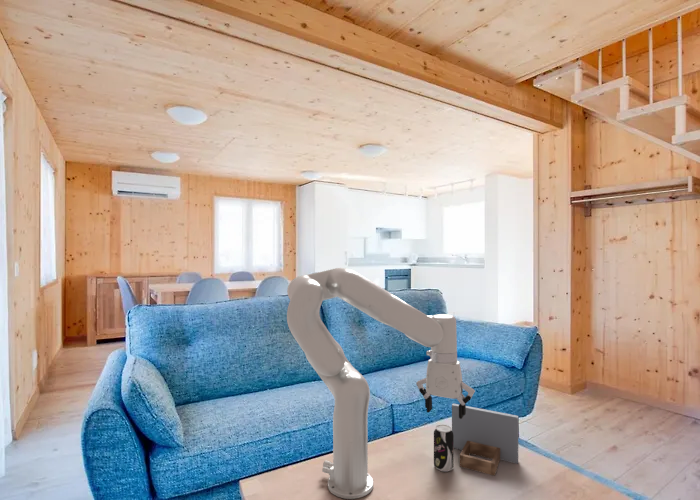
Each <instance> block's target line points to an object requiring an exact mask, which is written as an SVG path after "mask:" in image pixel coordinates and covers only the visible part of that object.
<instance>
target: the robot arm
mask: <svg viewBox="0 0 700 500" xmlns="http://www.w3.org/2000/svg"><path fill="white" fill-rule="evenodd" d="M286 290H287V296H288V299H289V303H288V306H287V312H286V321H287V326H288V329H289V331H290V334H291V336H292V337H293V339H295V341H296V342H297V344H298V346H299V348H300V349H301V350H302V351H303V353H304V354H305V357H306V360H307V361H308V363H309V364H310V365H311V368H313V370H314V371H315V372H316V374H317V375H318V376H319V378H320V379H321V380H322V382H323V383H324V385H325V386H326V387H327V389H328V390H329V391H330V393H331V394H332V396H333V398H334V406H333V407H334V408H333V414H332V415H333V416H332V441H333V442H332V448H333V449H332V450H333V451H332V454H333V455H332V458H333V459H332V462H331V461H329V460H326V459H325V460H324V461H323V464H322V469H321V471H322V473H325V474H328V475H329V477H328V479H327V489H328V491H329V492H330V493H331V494H332V495H334V496H335V497H338V498H341V499H347V500H354V499H360V498H363V497H365V496H367V495H368V494H370V493H371V491H372V490H373V489H374V480H373V477H372V476H371V475H370V473H368V471H369V469H368V468H369V467H368V463H369V462H368V454H369V453H368V448H369V447H368V445H369V444H368V443H369V442H368V440H369V439H368V438H369V437H368V434H369V433H368V414H369V413H368V412H369V404H370V398H371V396H370V395H371V390H370V385H369V383H368V380H367V379H366V377H364V375H362V373H360V372H359V370H358V369H356V368H355V367H354V366H353V365H352V363H351V362H350V360H348V358H347V357H346V355H345V353H344V349H343V348H342V345H340V343H339V342H337V341H336V339H335V338H334V337H333V335H332V334H331V332H330V331H329V330H328V328H327V326H326V325H325V323H324V322H323V321H322V318H321V315H320V309H321V306H322V304H323V301H326V300H330V299H333V298H339V299H341V300H342V301H344V302H346V303H347V304H349V305H350V306H352V307H354V308H356V309H357V310H359V311H361V312H363V313H364V314H366V315H367V316H368V317H371V318H372V319H373V320H376V321H378V322H380V323H381V324H384V325H386V326H389V327H391V328H392V329H395V330H397V331H399V332H400V333H403V334H404V335H405V336H406V337H407V338H408V339H410V340H412V341H414V342H416V343H418V344H420V345H422V346H424V347H426V348H430V350H426V352H425V353H426V356H429V357H430V359H428V362H427V367H426V376H425V378H422V379H419V380H418V381H416V383H415V385H416V386H417V389H418V392H419V393H420V394H421V395H422V396H423V399H424V406H425V409H426V413H430V412H432V410H433V396H435V397H439V398H440V397H441V398H447V399H452V400H457V401H458V402H459V418H460V419H462V417H463V416H464V415H465V414H466V406H467V403H468V402H469V401H471V399H472V398H473V395H474V394H475V392H476V390H475V389H474V388H472V387H471V386H470V385H468V384H467V383H465V382H463V375H462V370H461V369H462V368H461V363H460V361H459V360H458V348H457V347H458V344H457V343H458V340H457V337H458V336H457V334H458V333H457V320H456V319H457V318H456V317H455V316H454V315H452V314H445V313H439V314H434V315H427V314H426V313H424V312H422V311H421V310H419V309H417V308H415V306H414V307H413V306H412V305H410V304H408V303H407V302H405V301H404V300H402V299H400V298H399V297H398V296H397V295H394V294H392V293H391V292H389V291H388V290H386V289H385V288H383V287H381V286H380V285H378V284H376V283H375V282H373V281H372V280H371V279H369V278H367V277H366V276H364V275H362V274H360V273H359V272H357V271H355V270H353V269H352V268H351V269H350V268H345V267H336V268H332V269H331V268H330V269H328V270H324V271H318V272H314V273H308V274H303V275H299V276H297V277H295V278H294V279H292V280H291V281H290V283H289V284H288V286H287V289H286ZM424 384H425V387H424ZM464 391H465V392H467V395H466V396H465V395H464V394H463V392H464Z"/></svg>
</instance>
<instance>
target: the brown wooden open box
mask: <svg viewBox="0 0 700 500" xmlns="http://www.w3.org/2000/svg"><path fill="white" fill-rule="evenodd" d="M472 455H473V456H472ZM475 456H476V457H475ZM481 457H482V458H481ZM484 458H486V459H484ZM488 459H489V460H488ZM490 459H491V460H490ZM500 461H501V460H500V448H497V447H493V446H489V445H484V444H480V443H476V442H471V441H467V442H466V444H465V446H464V448H463V450H461V452H460V454H459V467H460V468H464V469H468V470H471V471H476V472H478V473H482V474H486V475H489V476H492V477H493V476H494V477H495V476H496V473H497V471H498V469H499V468H498V467H499V464H500Z"/></svg>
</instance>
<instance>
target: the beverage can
mask: <svg viewBox="0 0 700 500" xmlns="http://www.w3.org/2000/svg"><path fill="white" fill-rule="evenodd" d="M454 450H455V448H454V435H453V432H452V426H449V425H447V424H437V425H436V426H435V429H434V431H433V466H434V467H435V469H437V470H439V471H441V472H444V473H445V472H450V471H452V470H453V469H454V466H455V465H454V463H455V462H454Z"/></svg>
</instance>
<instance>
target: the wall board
mask: <svg viewBox="0 0 700 500" xmlns="http://www.w3.org/2000/svg"><path fill="white" fill-rule="evenodd" d="M459 404H460V403H459ZM459 404H458V403H452V404H451V430H452V432H453V435H454V450H455V449H456V450H460V451H462V450H463V448H464V446H465V444H466V442H467V441H471V442H476V443H480V444H484V445H489V446H493V447H497V448H500V461H505V462H508V463H512V462H513V463H512V464H516V465H517V464H519V415H515V414H511V413H510V414H509V413H507V412H505V413H504V412H501V411H500V412H499V411H495V410H490V409H485V408H481V407H480V408H478V407H473V406H468V405H466V414H465V415H464V416H463V417H462V419H460V418H459Z"/></svg>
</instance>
